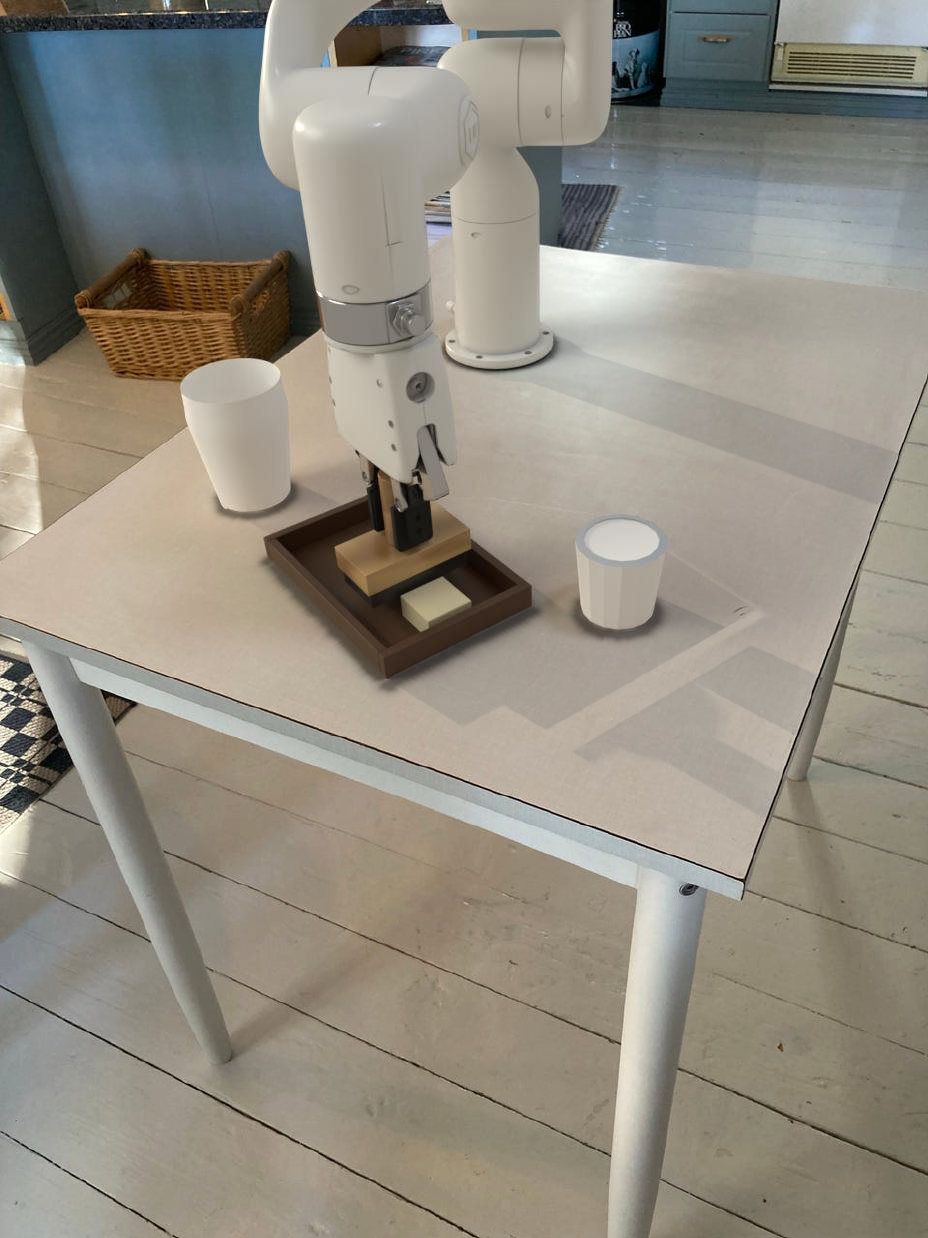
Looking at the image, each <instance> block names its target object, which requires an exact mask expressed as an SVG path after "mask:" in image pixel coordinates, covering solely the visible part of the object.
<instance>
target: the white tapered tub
mask: <svg viewBox="0 0 928 1238" xmlns="http://www.w3.org/2000/svg"><path fill="white" fill-rule="evenodd" d="M574 543H575V554H576V566H577V567H576V568H577V577H578V578H577V579H578V591H579V600H580V607H581V611H582V614H583V615H584V616H585V617H586V618H587V620H589V621H590V622H591V623H593V624H595V625H598V626H600V627H601V628H606V629H611V630H626V629H633V628H636V627H638V626H641V625H644V624H645V623H646V622H647V621H648V620H649V619H650V618H652V616H653V614H654V610H655V606H656V602H657V597H658V592H659V587H660V582H661V577H662V572H663V568H664V563H665V558H666V554H667V549H668V544H669V540H668V537H667V535H666V532H665V530H664V529H662V528H661V526H659V525H658V524H656V523H655V522H654V521H652V520H649V519H646V518H644V517H641V516H638V515H631V514H623V513H618V514H607V515H601V516H598V517H597V518H594V519H591V520H588V521H587V522H586V523H585V524H583V525H582V526H581V527H580V528H578V530H577V533H576V536H575V539H574Z"/></svg>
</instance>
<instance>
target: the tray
mask: <svg viewBox="0 0 928 1238" xmlns="http://www.w3.org/2000/svg"><path fill="white" fill-rule="evenodd" d="M372 530H374V529H373V528H372V525H371V518H370V511H369V504H368V497H367V494H365V495H363V496H361V497H357V498H356V499H354V500H351V501H348V502H346V503H344V504H342V505H338V506H336V507H334V508H331V509H329V510H326V511H323V512H322V513H320V514H316V515H314V516H311V517H309V518H306V519H305V520H302V521H299V522H297V523H294V524H293V525H290V526H287V527H285V528H282V529H280V530H278V531H275V532H273V533H270V534H268V535H265V536H263V537H262V538H263V543H264V547H265V553H266V556H267V558H268V559H269V560H270V561H271V563H273V564H274V565H275V567H276V568H278V569H279V571H280V572H281V573H283V574H284V575H285V577H286V578H287V579H289V581H290V582H291V583H292V584H293V585H294V586H295V587H296V589H298V590H299V591H300V592H301V594H303V595H304V597H306V598H307V599H308V600H309V602H311V603H312V604H313V606H315V608H316V609H317V610H318V611H319V612H320V613H322V615H323V616H324V617H325V618H326V620H328V621H329V622H330V623H331V624H332V625H333V626H334V627H335V628H336V629H337V630H338V631H339V632H340V633H341V635H342V636H344V637H345V638H346V639H347V640H348V642H350V644H352V645H353V647H355V648H356V649H357V651H358V652H359V653H360V654H361V655H362V656H363V657H364V658H365V659H366V660H367V661H368V662H369V664H371V665H372V666H373V667H374V668H375V669H376V670H377V671H378V672H379V673H380V674H381V675H382V676H383V677H384V678H385V679H386V680H388V679H389V678H392V677H393V676H395V675H397V674H399V673H401V672H404V671H405V670H407V669H409V668H411V667H413V666H415V665H417V664H419V663H421V662H424V661H425V660H427V659H429V658H431V657H434V656H436V655H437V654H439V653H441V652H443V651H445V650H447V649H449V648H451V647H453V646H455V645H457V644H459V643H461V642H463V641H465V640H468V639H470V638H471V637H473V636H475V635H478V634H479V633H481V632H483V631H485V630H487V629H489V628H491V627H493V626H495V625H497V624H499V623H501V622H503V621H505V620H507V619H509V618H511V617H512V616H515V615H517V614H519V613H521V612H523V611H525V610H527V609H528V608H531V607H532V606H533V589H532V587H533V586H532V584H530V583H529V582H528V581H526V579H524V578H523V577H522V576H520V575H519V574H517V573H516V572H515V571H513V569H511V568H510V567H508V566H507V565H506V564H504V563H503V562H502V561H501V560H499V559H498V558H497V557H495V556H494V555H493V554H492V553H491V552H489V551H487V550H486V548H484V547H483V546H481V545H480V544H479V543H477V542H476V541H475V540H474V539H472V538H471V549H469V550H467V561H468V564H466V565H464V566H462V567H460V568H458V569H456V570H454V571H451V572H449V573H447V574H445V575H443V576H441V577H444V578H445V579H446V580H447V581H448V582H450V583H451V584H452V585H453V586H454V587H455V588H457V589H458V590H459V591H460V592H461V593H463V594H464V595H465V596H466V597H467V598H468V599H470V600H471V608H469V609H467V610H465V611H463V612H461V613H459V614H457V615H455V616H453V617H451V618H449V619H447V620H445V621H442V622H440V623H438V624H436V625H434V626H432V627H430V628H428V629H426V630H424V631H422V632H420V631H419V630H418V629H417V628H416V627H415V626H414V625H413V624H412V623H410V622H409V621H408V620H407V619H406V618H405V617H404V616H403V614H402V606H401V597H400V596H399V597H397V598H395V599H393V600H391V601H388V602H386V603H384V604H382V605H380V606H378V607H376V608H374V609H373V608H372V607H371V606H370V605H369V604H368V603H367V602H366V601H365V600H364V599H363V598H362V597H361V596H360V595H359V594H358V593H357V592H356V591H355V590H354V589H353V588H351V587H350V586H349V585H348V584H347V583H346V582H345V578H344V572H343V571H342V570H341V569H340V568H339V567H338V564H337V558H336V552H335V546H338V545H340V544H342V543H344V542H347V541H349V540H351V539H354V538H356V537H358V536H360V535H363V534H365V533H367V532H370V531H372ZM439 578H440V577H439ZM437 579H438V578H437ZM435 580H436V579H435ZM433 581H434V580H433ZM430 582H431V581H430ZM428 583H429V582H428ZM426 584H427V583H426ZM424 585H425V584H424ZM422 586H423V585H422ZM420 587H421V586H420ZM409 592H410V591H409ZM407 593H408V592H407ZM405 594H406V593H405Z"/></svg>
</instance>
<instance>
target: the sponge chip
mask: <svg viewBox="0 0 928 1238" xmlns="http://www.w3.org/2000/svg"><path fill="white" fill-rule="evenodd" d="M400 597H401V606H402V614H403V616H404V617H405V618H406V619H407V620H408V621H409V622H410V623H412V624H413V625H414V626H415V627H416V628H417V629H418V630H419V631H420V632H422V631H424V630H426V629H428V628H430V627H432V626H434V625H436V624H438V623H440V622H442V621H445V620H447V619H449V618H451V617H453V616H455V615H457V614H459V613H461V612H463V611H465V610H467V609H469V608H471V600H470V599H468V598H467V597H466V596H465V595H464V594H463V593H461V592H460V591H459V590H458V589H457V588H455V587H454V586H453V585H452V584H451V583H450V582H448V581H447V580H446V579H445V578H444V577H440V578H438V579H436V580H434V581H431V582H429V583H427V584H425V585H423V586H421V587H418V588H416V589H414V590H412V591H410V592H408V593H406V594H403V595H401V596H400Z"/></svg>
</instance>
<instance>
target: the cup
mask: <svg viewBox="0 0 928 1238" xmlns="http://www.w3.org/2000/svg"><path fill="white" fill-rule="evenodd" d="M179 385H180V386H179V390H180V394H181V399H182V404H183V410H184V417H185V422H186V424H187V427H188V430H189V432H190V435H191V437H192V439H193V441H194V444H195V446H196V448H197V451H198V453H199V456H200V458H201V460H202V463H203V465H204V467H205V469H206V472H207V474H208V476H209V479H210V481H211V484H212V486H213V488H214V490H215V493H216V496H217V498H218V500H219V502H220V504H221V506H222V508H223V509H225V510H228V509H229V510H231V511H235V512H241V513H251V512H259V511H263V510H267V509H270V508H272V507H274V506H276V505H278V504H280V503H281V502H283V501H285V499H286V498H287V497H289V494H290V492H291V456H290V455H291V453H290V452H291V451H290V423H289V422H290V421H289V420H290V419H289V402H288V398H287V395H286V391H285V387H284V384H283V379H282V374H281V371H280V369H279V367H278V366H276V365H275V364H274V363H272V362H270V361H266V360H264V359H260V358H259V359H258V358H250V357H249V358H248V357H238V358H237V357H236V358H228V359H222V360H217V361H213V362H210V363H207V364H204V365H202V366H200V367H198V368H195V369H194V370H192V371H191V372H189V373H188V374H187V375H186V376H185V377H183V379H182V381H181V382H180V384H179Z"/></svg>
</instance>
